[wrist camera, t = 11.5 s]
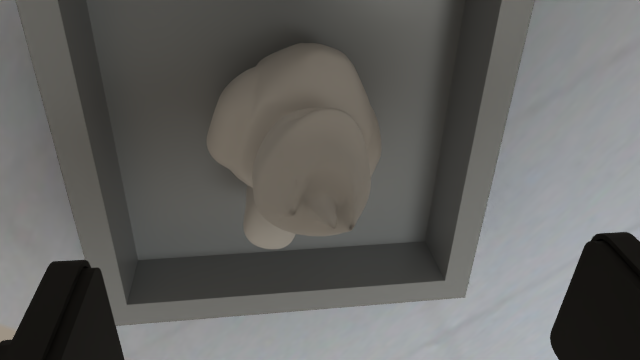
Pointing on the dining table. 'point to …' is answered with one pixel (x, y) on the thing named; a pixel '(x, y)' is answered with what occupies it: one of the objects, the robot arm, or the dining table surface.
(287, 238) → the beige rounded piece
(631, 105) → the dining table surface
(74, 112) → the tray
